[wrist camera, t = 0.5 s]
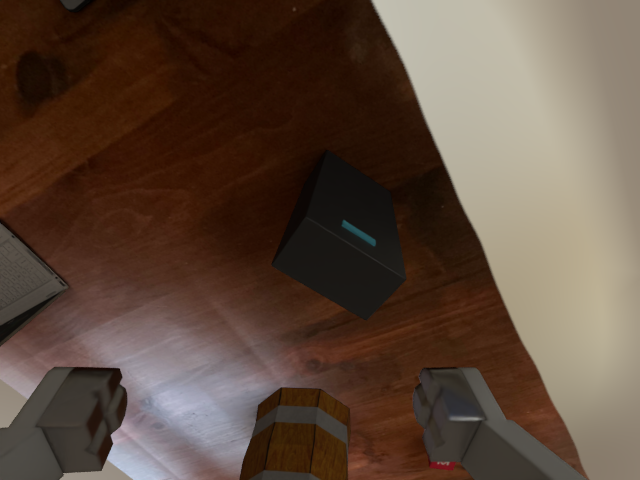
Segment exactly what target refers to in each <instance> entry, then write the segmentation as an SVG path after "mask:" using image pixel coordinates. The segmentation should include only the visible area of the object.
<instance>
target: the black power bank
mask: <svg viewBox="0 0 640 480" xmlns="http://www.w3.org/2000/svg"><path fill="white" fill-rule="evenodd" d="M272 266H273V267H274V268H276V269H278V270H280V271H281V272H283V273H285V274H287V275H288V276H290V277H292V278H293V279H295V280H297V281H299V282H300V283H302V284H304V285H306V286H307V287H309V288H311V289H312V290H314V291H316V292H318V293H319V294H321V295H323V296H325V297H326V298H328V299H330V300H331V301H333V302H335V303H337V304H338V305H340V306H342V307H344V308H345V309H347V310H349V311H350V312H352V313H354V314H356V315H357V316H359V317H361V318H363V319H364V320H367V319H368V318H369V317H370V316H371V315H372V314H373V313H374V312H375V311H376V310H377V309H378V308H379V307H380V306H381V305H382V304H383V303H384V302H385V301H386V300H387V299H388V298H389V297H390V296H391V295H392V294H393V293H394V292H395V291H396V290H397V288H398V287H399V286H400V285H401V284H402V283H403V282H404V281H405V280H406V274H405V268H404V263H403V258H402V252H401V247H400V241H399V236H398V231H397V225H396V220H395V215H394V209H393V204H392V198H391V193H390V191H388V190H387V189H385V188H384V187H382V186H381V185H379V184H378V183H376V182H375V181H373V180H372V179H370V178H369V177H367V176H366V175H364V174H363V173H361V172H360V171H358V170H357V169H355V168H354V167H352V166H351V165H349V164H348V163H346V162H345V161H343V160H342V159H340V158H339V157H337V156H336V155H334V154H333V153H331V152H330V151H328V150H326V152H325V153H324V155H323V156H322V158H321V159H320V161H319V162H318V164H317V165H316V167H315V168H314V170H313V171H312V173H311V174H310V176H309V177H308V179H307V180H306V182H305V184H304V186H303V188H302V190H301V193H300V195H299V198H298V200H297V203H296V205H295V208H294V210H293V213H292V215H291V218H290V220H289V222H288V225H287V227H286V230H285V232H284V235H283V237H282V240H281V242H280V245H279V247H278V250H277V252H276V254H275V257H274V259H273V262H272Z"/></svg>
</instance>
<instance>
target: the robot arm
mask: <svg viewBox="0 0 640 480" xmlns="http://www.w3.org/2000/svg"><path fill="white" fill-rule="evenodd" d="M121 379H122V374H121V371H120V368H93V367H54V368H53V369H51V370H50V371H48V372H47V374H46V375H45V377H44V378H43V379H42V381H41V382H40V384H39V385H38V386H37V388H36V389H35V391H34V392H33V393H32V395H31V396H30V398H29V399H28V400H27V402H26V403H25V405H24V406H23V408H22V409H21V411H20V412H19V413H18V415H17V416H16V417H15V419H14V420H13V422H12V423H11V424H10V426H9V427H8V428H0V480H59V479H60V478H61V477H62V476H63V475H64V474H63V473H72V472H91V471H102V468H103V466H104V464H105V461H106V459H107V457H108V454H109V452H110V450H111V447H112V445H113V442H112V439H111V434H112V433H113V432H114V431H116V430H117V429H118V428H119V427H120V426H121V424H122V421H123V419H124V416H125V412H126V408H127V392H126V389H125V388H124V387H123V386H121V385H120V381H121ZM419 379H420V381H421V383H420V384H419V385H417V386H416V387H415V390H414V394H413V408H414V413H415V416H416V420H417V422H418V423H419V424H420V425H421V426H422V427H423V428H424V429H425V431H424V434H423V437H422V438H423V441H424V444H425V447H426V450H427V453H428V456H429V459H430V462H461V465H462V466H463V467H464V468H465V469H466V470H467V471H468V473H469V474H470V475H471V476H472V477H473V478H474V479H475V480H587V479H586V478H585V477H583V476H582V475H581V474H580V473H578V472H577V471H576V470H575V469H573V468H572V467H571V466H570V465H568V464H567V463H566V462H564V461H563V460H562V459H561V458H559V457H558V456H557V455H556V454H554V453H553V452H552V451H551V450H549V449H548V448H547V447H545V446H544V445H543V444H542V443H540V442H539V441H538V440H537V439H535V438H534V437H533V436H531V435H530V434H529V433H528V432H526V431H525V430H524V429H523V428H521V427H520V426H519V425H518V424H516V423H515V422H514V421H512V420H506V418H505V416H504V414H503V413H502V411H501V409H500V407H499V405H498V404H497V402H496V400H495V398H494V397H493V395H492V393H491V391H490V390H489V388H488V386H487V384H486V382H485V381H484V379H483V377H482V375H481V374H480V372H479V370H477V369H476V368H456V367H440V368H423V369H422V370H421V372H420V375H419Z"/></svg>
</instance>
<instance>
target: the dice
mask: <svg viewBox="0 0 640 480" xmlns="http://www.w3.org/2000/svg"><path fill="white" fill-rule="evenodd" d="M427 454H428V453H427ZM428 461H429V467H430V468H436V469H445V470H453V468H454V466H455V463H456V462H430V459H429V456H428Z"/></svg>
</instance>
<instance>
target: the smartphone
mask: <svg viewBox="0 0 640 480" xmlns="http://www.w3.org/2000/svg"><path fill="white" fill-rule="evenodd" d="M90 1H91V0H60V2H61V3H62V5H63V6H64V7H65V8H66V9H67V10H69V11H71V12H77V11H79V10H80V9H81V8H83V7H84V6H85V5H86V4H87V3H89V2H90Z"/></svg>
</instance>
